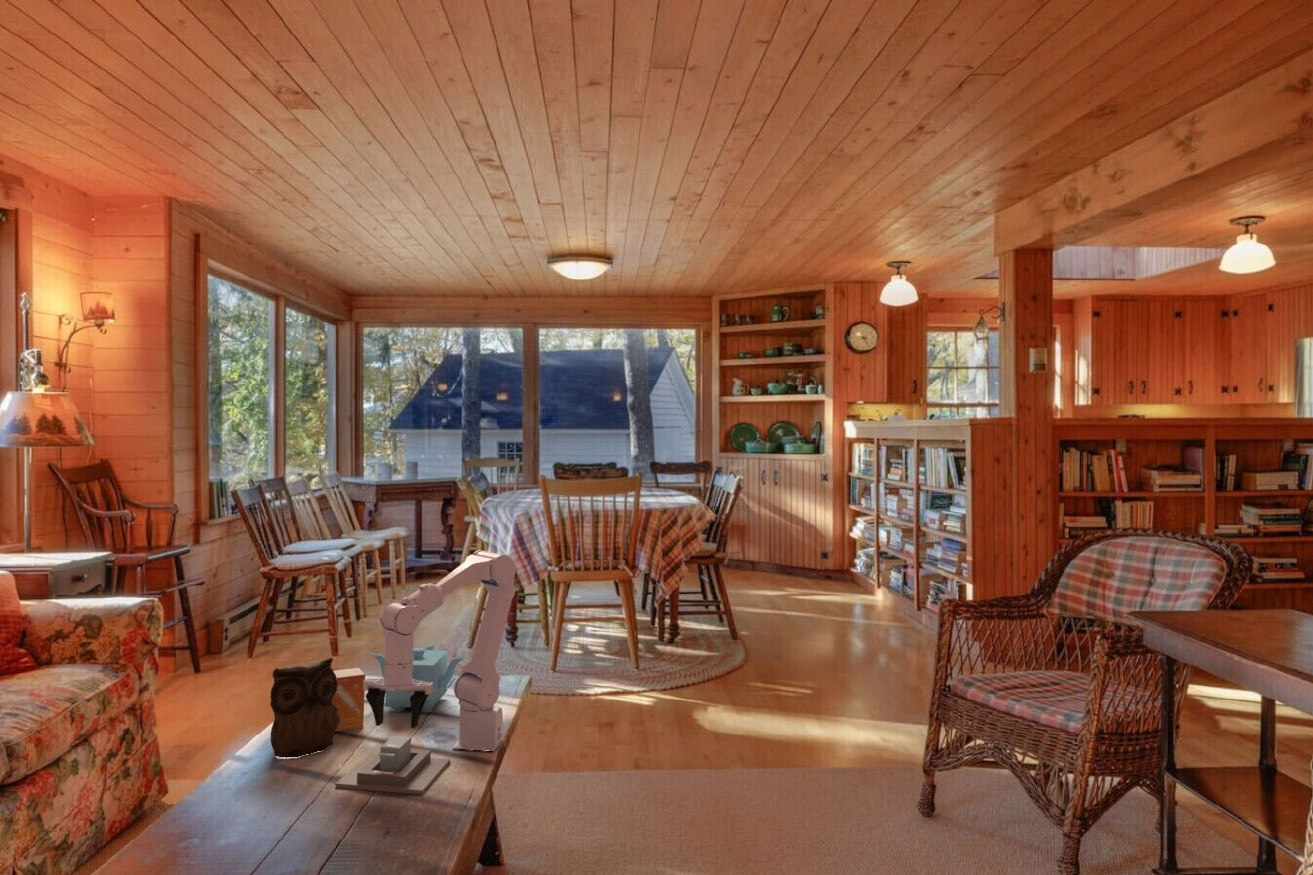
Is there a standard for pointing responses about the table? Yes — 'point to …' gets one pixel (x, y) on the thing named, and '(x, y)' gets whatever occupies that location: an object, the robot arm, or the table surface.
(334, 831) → the table surface
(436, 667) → the teakettle
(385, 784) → the chassis
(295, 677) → the owl
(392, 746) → the block
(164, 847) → the table surface
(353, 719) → the small box
